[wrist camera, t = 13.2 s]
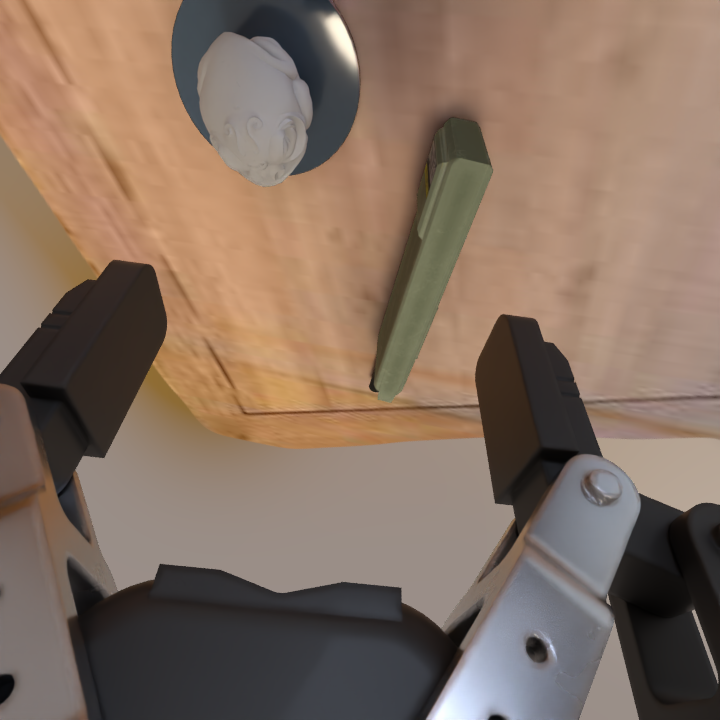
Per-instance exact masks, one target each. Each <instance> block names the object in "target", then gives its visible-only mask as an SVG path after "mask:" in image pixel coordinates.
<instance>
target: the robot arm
mask: <svg viewBox="0 0 720 720" xmlns="http://www.w3.org/2000/svg"><path fill="white" fill-rule="evenodd" d="M166 330H167V316H166V312H165V308H164V304H163V300H162V296H161V292H160V288H159V284H158V281H157V277H156V273H155V270H154V268H153V267H152V266H151V265H149V264H142V263H135V262H127V261H120V260H113V261H111V262H110V263H109V264H108V266H107V267H106V268H105V270H104V271H103V272H102V274H101V275H100V276H99V278H98V279H97V280H86V281H84V282H83V283H81V284H80V285H78V286H76V287H75V288H73V289H72V290H70V291H68V292H67V293H66V294H65V295H64V296H63V298H62V299H61V300H60V301H59V303H58V304H57V305H56V306H55V307H54V308H53V312H52V314H51V313H49V315H48V316H47V317H46V319H45V320H44V321H43V322H42V323H41V328H37V330H36V331H35V332H34V333H33V335H32V336H31V337H30V338H29V340H28V341H27V342H26V343H25V344H24V346H23V347H22V348H21V349H20V351H19V352H18V353H17V354H16V356H15V357H14V358H13V359H12V360H11V362H10V363H9V364H8V366H7V367H6V368H5V369H4V370H3V372H2V373H1V374H0V720H579V718H580V715H581V712H582V709H583V707H584V704H585V701H586V698H587V695H588V693H589V690H590V688H591V685H592V682H593V679H594V676H595V674H596V671H597V668H598V666H599V663H600V660H601V658H602V655H603V652H604V649H605V647H606V644H607V641H608V638H609V636H610V633H611V630H612V627H613V623H614V620H615V624H616V628H617V632H618V636H619V640H620V644H621V648H622V652H623V656H624V660H625V664H626V668H627V672H628V676H629V680H630V684H631V688H632V692H633V696H634V700H635V704H636V708H637V713H638V717H639V720H720V505H717V504H713V503H701V504H698V505H696V506H694V507H693V508H691V509H689V510H688V511H686V512H683V511H680V510H678V509H675V508H673V507H670V506H668V505H666V504H663V503H661V502H659V501H656V500H654V499H651V498H648V497H646V496H644V495H642V494H640V493H638V491H637V489H636V487H635V485H634V483H633V482H632V480H631V479H630V478H629V477H628V476H627V474H626V473H625V472H624V471H623V470H622V469H620V468H619V467H618V466H617V465H615V464H614V463H612V462H611V461H609V460H607V459H605V458H603V456H602V454H601V451H600V448H599V445H598V443H597V440H596V437H595V434H594V432H593V429H592V426H591V423H590V421H589V418H588V415H587V412H586V410H585V407H584V404H583V401H582V399H581V398H579V395H580V393H579V390H578V388H577V385H576V383H574V377H573V374H572V371H571V368H570V366H569V363H568V360H567V359H566V358H565V357H564V355H563V354H562V353H561V352H560V351H559V349H558V348H557V347H556V346H555V345H554V343H549V342H544V340H543V337H542V334H541V331H540V328H539V325H538V322H537V321H536V320H535V319H534V318H527V317H520V316H512V315H505V314H502V315H501V316H500V317H499V318H498V319H497V321H496V323H495V325H494V327H493V330H492V332H491V334H490V336H489V338H488V340H487V342H486V344H485V346H484V348H483V350H482V352H481V354H480V356H479V359H478V362H477V366H476V373H475V382H476V388H477V394H478V401H479V407H480V413H481V419H482V425H483V432H484V438H485V444H486V450H487V456H488V462H489V469H490V474H491V481H492V487H493V493H494V499H495V503H497V504H505V505H513V508H514V514H515V518H514V519H513V521H512V522H511V523H510V525H509V527H508V528H507V530H506V531H505V533H504V534H503V536H502V538H501V539H500V541H499V542H498V544H497V546H496V547H495V549H494V551H493V552H492V554H491V555H490V557H489V559H488V560H487V562H486V563H485V565H484V567H483V568H482V570H481V571H480V573H479V575H478V576H477V578H476V580H475V581H474V583H473V584H472V586H471V587H470V589H469V590H468V592H467V593H466V594H465V595H464V597H463V598H462V599H461V600H460V602H459V603H458V604H457V606H456V607H455V609H454V610H453V612H452V613H451V614H450V616H449V617H448V619H447V620H446V622H445V624H444V625H443V627H442V628H440V627H439V626H438V625H436V624H435V623H434V622H433V621H432V620H430V619H429V618H428V617H426V616H425V615H424V614H422V613H420V612H419V611H417V610H416V609H414V608H412V607H410V606H408V605H406V604H404V603H402V602H401V588H398V587H388V586H378V585H367V584H357V583H347V582H341V583H337V584H331V585H325V586H320V587H315V588H310V589H304V590H299V591H293V592H288V593H276V592H273V591H271V590H268V589H266V588H264V587H261V586H259V585H256V584H254V583H251V582H249V581H246V580H244V579H242V578H239V577H237V576H234V575H232V574H229V573H227V572H224V571H221V570H216V569H205V568H196V567H186V566H175V565H165V564H160V565H159V568H158V571H157V574H156V577H155V580H150V581H146V582H143V583H140V584H136V585H133V586H130V587H128V588H125V589H123V590H121V591H118V590H117V587H116V585H115V582H114V579H113V577H112V574H111V572H110V570H109V567H108V565H107V563H106V562H105V560H104V558H103V556H102V553H101V551H100V548H99V545H98V542H97V538H96V535H95V531H94V528H93V525H92V521H91V518H90V514H89V511H88V508H87V504H86V501H85V497H84V494H83V491H82V487H81V484H80V480H79V477H78V475H77V472H76V471H75V469H76V467H77V466H78V464H79V462H80V460H81V458H82V456H90V457H99V458H104V457H105V455H106V453H107V451H108V449H109V447H110V446H111V444H112V442H113V439H114V438H115V436H116V434H117V432H118V430H119V428H120V426H121V424H122V422H123V420H124V418H125V416H126V414H127V412H128V410H129V408H130V406H131V404H132V402H133V400H134V398H135V396H136V394H137V392H138V390H139V388H140V386H141V385H142V382H143V381H144V379H145V377H146V375H147V373H148V371H149V369H150V367H151V365H152V363H153V361H154V359H155V357H156V355H157V353H158V351H159V349H160V347H161V345H162V343H163V341H164V338H165V335H166ZM607 594H608V596H609V600H610V604H611V606H610V605H609V604H607V603H606V598H607ZM694 609H695V611H696V614H697V616H698V619H699V621H700V624H701V627H702V630H703V632H704V635H705V638H706V641H707V644H708V646H709V649H710V652H711V655H712V657H713V660H714V663H715V666H716V669H717V673H718V679H719V683H717V680H716V677H715V675H714V672H713V669H712V666H711V664H710V661H709V658H708V655H707V652H706V650H705V647H704V644H703V641H702V638H701V636H700V633H699V630H698V627H697V625H696V622H695V619H694V616H693V613H692V610H694Z"/></svg>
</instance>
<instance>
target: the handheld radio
mask: <svg viewBox="0 0 720 720" xmlns="http://www.w3.org/2000/svg"><path fill="white" fill-rule="evenodd" d="M492 173H493V169H492V166H491V162H490V159H489V156H488V152H487V149H486V146H485V142H484V139H483V136H482V132H481V129H480V127H479V126H478V124H477V122H472V121H468V120H463V119H458V118H454V117H453V118H450V119H449V120H448V121H446V122H445V123H444V126H443V128H441V129H439V130H438V131H437V133H436V134H435V136H434V139H433V143H432V146H431V149H430V153H429V156H428V159H427V163H426V166H425V169H424V173H423V176H422V179H421V183H420V186H419V189H418V193H417V212H416V216H415V219H414V222H413V225H412V229H411V232H410V235H409V238H408V241H407V245H406V248H405V251H404V254H403V258H402V261H401V264H400V267H399V271H398V274H397V277H396V280H395V283H394V287H393V290H392V293H391V296H390V300H389V303H388V306H387V309H386V313H385V316H384V319H383V322H382V325H381V329H380V332H379V336H378V343H377V354H376V366H375V369H374V372H373V376H372V379H371V382H370V385H369V388H370V390H371V391H373V392H379V394H378V400H382V401H386V402H390V403H391V402H392V400H393V399H394V397H395V395H397V394H399V393H400V392H401V391H402V389H403V387H404V385H405V383H406V381H407V378H408V376H409V374H410V371H411V369H412V367H413V364H414V362H415V359H417V358H418V355H419V352H420V350H421V348H422V345H423V343H424V340H425V338H426V336H427V333H428V331H429V328H430V326H431V324H432V321H433V319H434V316H435V314H436V312H437V310H438V305H439V303H440V300H441V298H442V295H443V293H444V290H445V288H446V286H447V283H448V281H449V278H450V276H451V273H452V271H453V268H454V266H455V264H456V261H457V259H458V256H459V254H460V251H461V249H462V246H463V244H464V242H465V239H466V237H467V234H468V232H469V229H470V227H471V225H472V222H473V220H474V217H475V215H476V212H477V210H478V207H479V205H480V203H481V200H482V198H483V195H484V193H485V190H486V188H487V185H488V183H489V181H490V178H491V176H492Z"/></svg>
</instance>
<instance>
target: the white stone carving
mask: <svg viewBox="0 0 720 720" xmlns="http://www.w3.org/2000/svg"><path fill="white" fill-rule="evenodd" d="M197 90H198V94H199V97H200V101H199V104H200V111H201V115H202V118H203V122H204V123H205V126H206V128H207V130H208V132H209V133H210V141H211V143H212V145H213V147H214V148H215V149H216V151H217V152H218V154H219V155H220V157H221V158H222V159H223V161H224V162H225V163H226V165H227V166H228V167H230V168H231V169H232V170H235V171H238V172H239V173H240V174H241V175H242V176H244V177H245V178H246V179H248V180H249V181H251V182H253V183H255V184H256V185H259V186H263V187H270V186H274V185H277V184H279V183H282V182H283V181H284V180H285V179H286V178H287V177H288V176H289V175H290V174H291V173H292V172H293V170H294V169H295V168H296V166H297V165H298V164H299V162H300V161H301V159H302V158H303V156H304V154H305V151H306V147H307V141H308V136H307V134H306V129H308V128H309V126H310V124H311V121H312V116H313V109H312V100H311V97H310V92H309V87H308V85H307V84H306V83H305V81H303V80H301V79H300V77H299V74H298V72H297V69H296V66H295V64H294V61H293V60H292V58H291V57H290V56H289V55H288V54H287V52H286V51H285V50H283V49H282V48H281V46H280V45H279V44H278V42H277V41H275V40H274V39H272V38H270V37H258V36H257V37H253V38H252V39H250V40H249V39H248V38H246V37H244V36H241V35H238V34H235V33H232V32H224V33H222V34H221V35H220V36H219V37H218V38H217V39H216V40H215V41H214V42H213V43H212V44H211V46H210V47H209V49H208V51H207V52H206V53H205V54H204V56H203V57H202V59H201V61H200V63H199V67H198V85H197Z"/></svg>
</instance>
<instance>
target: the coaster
mask: <svg viewBox="0 0 720 720" xmlns="http://www.w3.org/2000/svg"><path fill="white" fill-rule="evenodd" d="M224 32H232V33H235V34H238V35H241V36H244V37H246V38H248V39H249V40H250V39H252V38H253V37H257V36H258V37H270V38H272V39H274V40H275V41H277V42H278V44H279V45H280V46H281V48H282V49H283V50H285V51H286V52H287V54H288V55H289V56H290V57H291V58H292V60H293V61H294V64H295V66H296V69H297V72H298V74H299V77H300V79H301V80H303V81H305V83H306V84H307V85H308V87H309V92H310V97H311V100H312V109H313V116H312V121H311V124H310V126H309V128H308V129H306V134H307V136H308V141H307V147H306V151H305V154H304V156H303V158H302V159H301V161H300V162H299V164H298V165H297V166H296V168H295V169H294V170H293V172H292V173H291V174H290V175H289V176H291V175H296V174H301V173H304V172H307V171H310V170H312V169H314V168H316V167H318V166H320V165H321V164H323V163H324V162H325V161H327V160H328V159H329V158H330V157H331V156H332V155H333V154H334V153H336V152H337V150H338V149H339V148H340V146H341V145H342V144H343V143H344V141H345V139H346V138H347V136H348V134H349V132H350V130H351V128H352V125H353V123H354V120H355V116H356V113H357V109H358V103H359V96H360V68H359V62H358V57H357V52H356V48H355V45H354V42H353V38H352V36H351V34H350V31H349V29H348V27H347V24H346V22H345V21H344V19H343V17H342V15H341V14H340V12H339V10H338V9H337V7H336V6H335V5H334V3H333V2H332V1H331V0H183V1H182V3H181V6H180V8H179V10H178V13H177V16H176V20H175V23H174V27H173V35H172V65H173V72H174V77H175V81H176V85H177V88H178V91H179V94H180V97H181V100H182V102H183V104H184V106H185V109H186V111H187V113H188V114H189V116H190V118H191V120H192V121H193V123H194V124H195V126H196V127H197V129H198V130H199V131H200V133H201V134H202V135H203V136H204V137H205V139H206V140H207V141H208V142H209V143H210V144H211V145H212V143H211V141H210V133H209V132H208V130H207V128H206V126H205V123H204V122H203V118H202V115H201V111H200V104H199V101H200V97H199V94H198V90H197V85H198V67H199V63H200V61H201V59H202V57H203V56H204V54H205V53H206V52H207V51H208V49H209V47H210V46H211V44H212V43H213V42H214V41H215V40H216V39H217V38H218V37H219V36H220V35H221V34H222V33H224ZM212 146H213V145H212Z"/></svg>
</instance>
